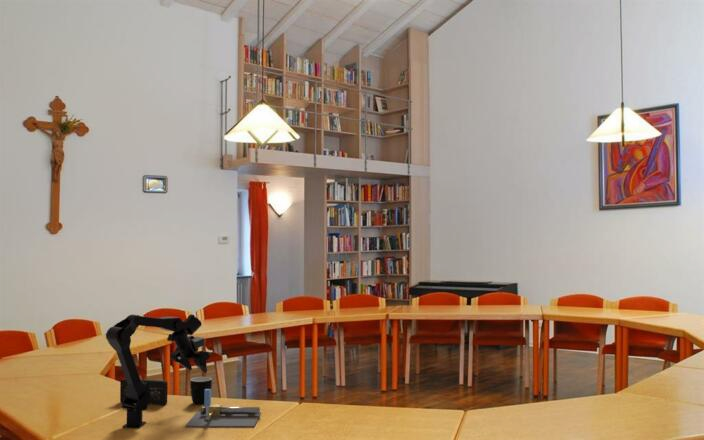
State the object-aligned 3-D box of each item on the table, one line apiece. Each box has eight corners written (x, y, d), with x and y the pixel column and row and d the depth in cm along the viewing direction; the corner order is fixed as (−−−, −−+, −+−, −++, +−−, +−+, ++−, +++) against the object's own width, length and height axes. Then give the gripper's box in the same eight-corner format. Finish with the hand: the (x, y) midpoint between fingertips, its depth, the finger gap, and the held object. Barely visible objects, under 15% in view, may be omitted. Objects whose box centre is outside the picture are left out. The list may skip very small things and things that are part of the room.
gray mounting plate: (184, 427, 232) (184, 425, 232) (196, 413, 250) (196, 412, 250) (254, 427, 232) (254, 425, 232) (261, 413, 250) (261, 412, 250)
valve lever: (204, 422, 233) (204, 390, 234) (205, 420, 235) (205, 389, 235) (209, 422, 233) (209, 390, 234) (210, 420, 235) (210, 389, 235)
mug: (195, 399, 271) (195, 376, 272) (214, 400, 270) (214, 377, 270) (183, 407, 259) (184, 382, 260) (204, 408, 258) (204, 383, 258)
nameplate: (167, 404, 264) (167, 380, 264) (165, 405, 262) (165, 381, 263) (122, 401, 268) (122, 378, 268) (120, 402, 266) (120, 379, 267)
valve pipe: (195, 423, 235) (195, 412, 236) (202, 414, 247) (202, 404, 247) (255, 423, 236) (255, 412, 236) (260, 414, 247) (260, 404, 247)
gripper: (211, 331, 254) (226, 360, 261) (181, 327, 265) (196, 355, 271) (193, 350, 246) (209, 379, 253) (162, 345, 257) (178, 373, 264)
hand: (198, 371), depth 260 cm, fingers open, 9 cm apart
